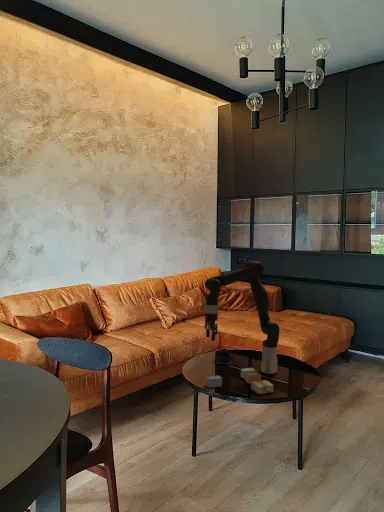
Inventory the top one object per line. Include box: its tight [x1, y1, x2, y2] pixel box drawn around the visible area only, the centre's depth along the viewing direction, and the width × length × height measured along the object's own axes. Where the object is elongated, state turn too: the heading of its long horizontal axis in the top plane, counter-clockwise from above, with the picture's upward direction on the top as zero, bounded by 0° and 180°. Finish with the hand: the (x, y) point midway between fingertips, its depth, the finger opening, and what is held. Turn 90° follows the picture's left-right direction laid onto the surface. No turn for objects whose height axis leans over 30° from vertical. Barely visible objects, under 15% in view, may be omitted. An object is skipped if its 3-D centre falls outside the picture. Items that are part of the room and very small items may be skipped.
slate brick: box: [205, 375, 223, 388], centre depth 228 cm, size 8×4×5 cm, turn 110°
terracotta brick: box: [244, 371, 262, 385], centre depth 236 cm, size 8×4×5 cm, turn 110°
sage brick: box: [240, 367, 257, 380], centre depth 244 cm, size 8×4×5 cm, turn 111°
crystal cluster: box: [215, 348, 235, 366], centre depth 271 cm, size 13×14×10 cm
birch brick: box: [250, 379, 275, 395], centre depth 224 cm, size 10×8×4 cm
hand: (210, 338), depth 233 cm, fingers open, 8 cm apart
